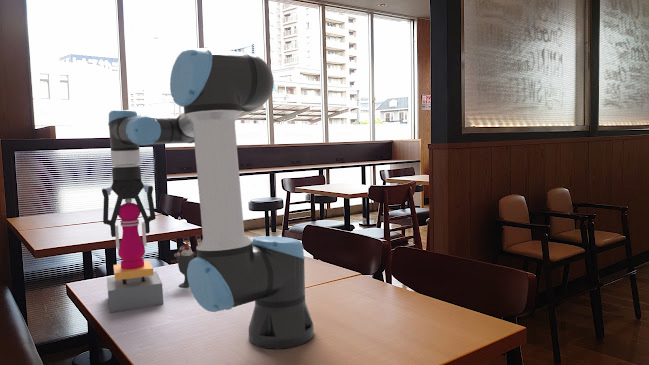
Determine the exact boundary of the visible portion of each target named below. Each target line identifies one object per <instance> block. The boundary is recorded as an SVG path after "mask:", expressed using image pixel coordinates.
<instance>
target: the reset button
mask: <svg viewBox="0 0 649 365" xmlns="http://www.w3.org/2000/svg"><path fill="white" fill-rule="evenodd" d="M153 272H154V268H153V265H152V263H151V261H150V260H144V266H143V267H140V268H136V269H122V268H121V263H118V264H113V275H114V276H113V277H115V280H122V279H126V284H132V283H140V282H142V277H145V276H152V275H153Z"/></svg>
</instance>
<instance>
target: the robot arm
mask: <svg viewBox="0 0 649 365" xmlns="http://www.w3.org/2000/svg"><path fill="white" fill-rule="evenodd" d="M274 82H275V81H274V76H273V72H272V70H271V68H270V66H269V65H268V64H267V63H266V62H265V60H263V59H262V58H261V57H259V56H258V55H256V54H253V53H250V52H243V51H240V52H239V51H231V50H222V49H217V48H215V49H214V48H209V47H201V48H199V47H190V48H189V47H188V48H186V49H184V50H183V51H181V52H180V53H179V55H178V56H177V57H176V59H175V60H174V63H173V65H172V68H171V73H170V82H169V89H170V90H169V91H170V95H171V97H172V98H173V99H172V100H173V102H174V103H175V104H176V105H178V106H179V107H183V113H181V114H180V115H177V116H176V115H174V116H171V115H170V116H167V115H166V116H164V115H163V116H159V115H158V116H157V115H156V116H154V115H153V116H151V115H150V116H148V115H138V113H137V112H136V111H135V110H131V109H125V110H124V109H121V110H118V109H117V110H111V111H109V113H108V123H107V124H108V130H109V144H110V161H111V166H113V167H112V168H111V173H112V184H111V186H108V187H106V188H105V187H103V188H102V189H101V193H102V196H103V212H102V214H103V215H102V217H103V218H102V223H103V224H104V225H108V226H109V227H110V236H111V237H113V238H115V246H116V250H118V249H120V248H119V245H120V236H119V225H118V224H117V223H116V222H117V219H118V217H119V216H118V213H119V209H120V206H121V205H122V204H123V203H122V202H123V200H125V199H128V198H130V199H132V200H133V199H134V201H135V204H137V205H138V207H139V209H140V215H141V216H142V218H143V220H144V221H141V232H142V233H141V234H142V235H141V236H142V242H143V245H144V247H146V246H147V234H150V231H151V230H150V229H151V228H150V223H151V221H154V220H156V211H155V205H154V199H153V191H154V187H153V185H151V184H149V185H147V184H144V183H143V181H142V170H141V168H142V167H141V166H140V164H141V152H140V146H150V145H163V144H164V145H167V144H170V145H171V144H194V152H195V153H194V154H195V164H196V174H197V176H196V177H197V186H198V196H199V208H200V220H201V231H202V239H201V241H200V242H199V243H198V244H197V245H196V246H195V247H196V257H194V259H193V260H191V261H190V262H189V264H188V268H187V278H188V283H189V287H188V288H189V289H190V292H191V294H192V296H193V298H194V300H196V303H198V305H199V306H201V307H202V309H204V310H206V311H207V312H211V313H216V312H221V311H224V310H225V311H227V310H228V311H229V310H232V309H233V308H235V307H239V306H242V305H246V304H249V303H252V302H254V308H253V311H252V315H251V319H250V321H249V325H248V340H249V341H250V343H251V344H252V345H255V346H257V347H261V348H265V349H287V348H289V349H290V348H293V347H297V346H301V345H304V344H305V343H307V342H309V341H310V340H312V339H313V337H314V336H315V335H314V334H315V330H314V329H315V328H314V322H313V318H312V317H311V313H310V311H309V308H308V306H307V303H306V287H305V286H306V280H305V279H306V278H305V260H306V257H305V255H304V252H305V251H304V245H303V243H302V242H301V241H300V240H298V239H296V238H292V237H286V236H285V237H284V236H274V235H273V236H268V235H267V236H265V235H264V236H256V237H254V238H253V239H252V240H251V239H250V238H249V237H248V236H246V234H245V229H244V228H245V227H244V215H243V205H242V204H243V202H242V193H241V181H240V170H239V167H240V166H239V156H238V155H239V154H238V143H237V134H236V123H235V122H236V120H237V119H238V118H239V117H240V115H242V112H243V113H248V112H249V113H250V112H253V111H255V110H256V109H258V108H260V107H261V106H263V105H264V104H265V103H266V102H267V101H268V100H269V99H270V98H271V96H272V94H273V90H274V86H275V83H274ZM143 190H144V192H145V193H146V198H147V204H148V211H149V215H148V214H147V211H146V209H145V207H144V205H143V203H142V200H141V198H140V196H139V194H140V193H141V192H142V191H143ZM112 191H113V193H115V195H116V196H117V198H116V201H115V204H114V208H113V212H112V215H111V218H110V219H109V200H110V199H109V198H110V197H109V196H111V194H112V193H111V192H112Z"/></svg>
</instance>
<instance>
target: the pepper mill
mask: <svg viewBox="0 0 649 365" xmlns="http://www.w3.org/2000/svg"><path fill="white" fill-rule="evenodd" d="M132 201H133V199H130V198H128V199H124V202H125V203H121V206H120V209H119V213H118V216H117V217H119V219H121V220H120V221H119V222H120V227H121V228H122V236H121V240H120V242H119V248H120V249H117V250H118V251H117V255H118V257H119V258H120V259H121V261H120V264H121V268H122V269H136V268H140V267H143V266H144V261H145V259H144V258H143V257H144V255H145V253H146V249H145V248H146V246H144V245H143V239H141V236H140V234H139V225H140V222H139V221H140V219H139V217H140V215H141V212H140V209H139V207H138V205H137V203H136V202H132Z"/></svg>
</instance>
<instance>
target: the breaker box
mask: <svg viewBox="0 0 649 365" xmlns="http://www.w3.org/2000/svg"><path fill="white" fill-rule="evenodd" d="M106 285H107V286H106V288H107V298H108V299H107V300H108V310H109V313H116V312H121V311H127V310H134V309H140V308H146V307H152V306H159V305H164V294H163V291H164V289H163V282H162V280H161V278H160V276H159V273H158V271H153V275H152V276H145V277H142V282H140V283H132V284H126V279H122V280H115V276H111V277H106Z"/></svg>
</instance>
